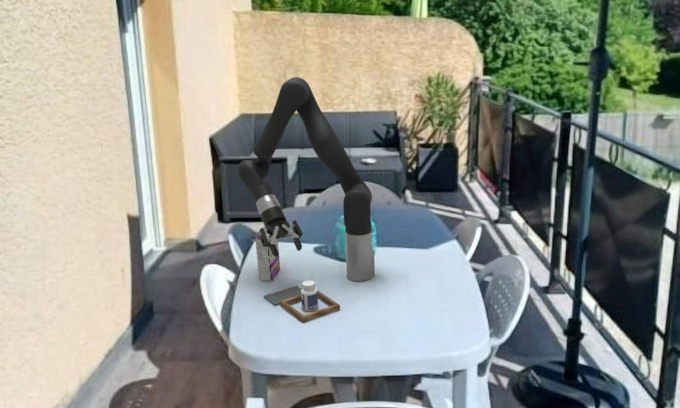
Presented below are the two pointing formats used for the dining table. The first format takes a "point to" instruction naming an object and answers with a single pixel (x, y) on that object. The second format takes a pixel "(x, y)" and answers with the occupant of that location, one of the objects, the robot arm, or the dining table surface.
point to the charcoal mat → (283, 295)
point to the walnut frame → (303, 318)
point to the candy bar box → (267, 260)
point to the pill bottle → (309, 296)
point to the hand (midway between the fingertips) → (288, 252)
